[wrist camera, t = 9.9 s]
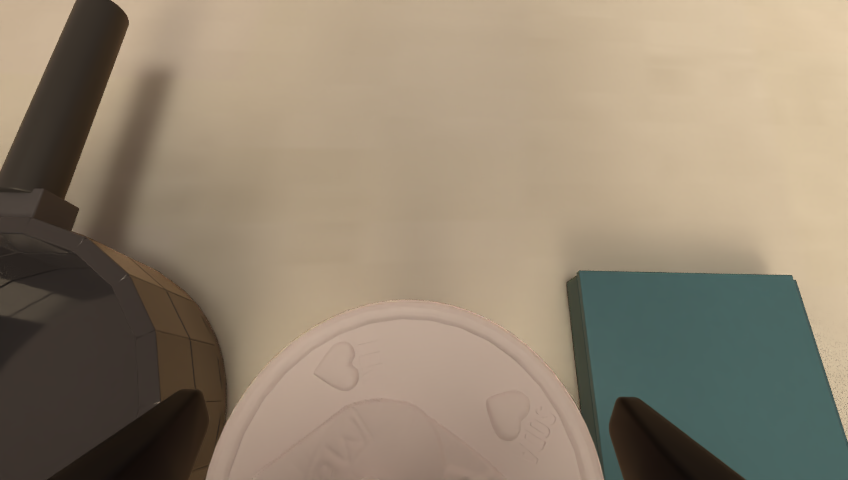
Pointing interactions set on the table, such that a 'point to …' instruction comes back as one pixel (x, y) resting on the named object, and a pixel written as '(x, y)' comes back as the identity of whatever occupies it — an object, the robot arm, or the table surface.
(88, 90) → the pan handle
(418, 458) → the smoothie
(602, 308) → the teal flat block
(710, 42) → the table surface
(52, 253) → the pan
